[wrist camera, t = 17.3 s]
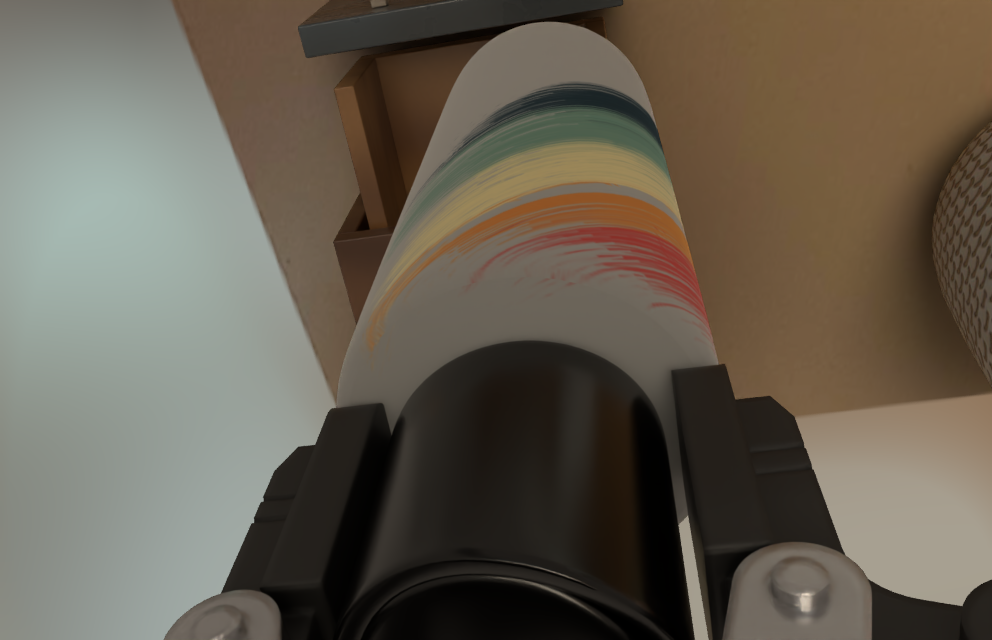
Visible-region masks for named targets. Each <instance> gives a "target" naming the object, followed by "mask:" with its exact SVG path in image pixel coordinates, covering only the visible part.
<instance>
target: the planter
mask: <svg viewBox="0 0 992 640" xmlns="http://www.w3.org/2000/svg"><path fill="white" fill-rule="evenodd" d="M932 248H933V262H934V266H935V270H936V273H937V277H938V281H939V284H940V288H941V291H942V294H943V296H944V299H945V301H946V303H947V305H948V307H949V309H950V311H951V313H952V316H953V318H954V320H955V322H956V324H957V326H958V328H959V330H960V332H961V334H962V336H963V338H964V340H965V342H966V344H967V346H968V348H969V350H970V351H971V353H972V355H973V356H974V358H975V360H976V362H977V363H978V365H979V367H980V368H981V370H982V372H983V374H984V375H985V377H986V379H987V381H988V382H989V384H990V386H991V388H992V121H991V122H990V123H989V124H988V125H987V126H986V127H985V128H983V129H982V130H981V131H980V132H979V133H978V134H977V135H976V137H975V138H974V139H973V140H972V141H971V142H970V143H969V145H968V146H967V147H966V148H965V149H964V150H963V152H962V153H961V155H960V156H959V158H958V160H957V161H956V163H955V164H954V166H953V167H952V169H951V170H950V172H949V175H948V177H947V179H946V181H945V183H944V185H943V187H942V189H941V193H940V196H939V199H938V203H937V206H936V210H935V213H934V220H933V229H932Z"/></svg>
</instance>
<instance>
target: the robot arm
mask: <svg viewBox="0 0 992 640" xmlns="http://www.w3.org/2000/svg"><path fill="white" fill-rule="evenodd" d="M671 374H672V384H673V393H674V402H675V411H676V420H677V429H678V438H679V448H680V457H681V467H682V476H683V483H684V491H685V498H686V504H687V510H688V517H689V523H690V528H691V535H692V541H693V547H694V553H695V559H696V565H697V570H698V577H699V583H700V589H701V595H702V601H703V607H704V613H705V620H706V625H707V631H708V638H709V640H992V580H990V581H987V582H985V583H983V584H981V585H979V586H978V587H977V588H975V589H974V590H973V591H972V592H971V593H970V594H969V595H968V596H967V598H966V600H965V602H964V604H963V606H957V605H951V604H944V603H938V602H933V601H926V600H921V599H916V598H911V597H907V596H904V595H901V594H897V593H894V592H892V591H889V590H887V589H885V588H883V587H881V586H879V585H877V584H875V583H874V582H872V581H870V580H869V579H868V578H867V577H866V575H865V573H864V572H863V570H862V569H861V568H860V567H859V566H858V565H857V564H856V563H855V562H853V561H852V560H851V559H850V558H848V557H847V556H846V555H845V553H844V551H843V549H842V547H841V544H840V541H839V538H838V536H837V533H836V530H835V527H834V525H833V522H832V519H831V516H830V514H829V511H828V508H827V505H826V503H825V500H824V497H823V494H822V492H821V489H820V486H819V483H818V481H817V478H816V475H815V472H814V470H812V465H811V461H810V459H809V456H808V453H807V450H806V448H804V442H803V439H802V437H801V434H800V431H799V429H798V426H797V423H796V420H795V417H794V416H793V415H792V414H791V413H789V412H788V411H787V410H786V409H785V408H784V407H782V406H781V405H780V404H779V403H778V402H777V401H775V400H774V399H773V398H772V397H771V396H764V397H755V398H746V399H737V400H735V397H734V394H733V390H732V387H731V383H730V379H729V376H728V372H727V369H726V366H725V364H720V365H711V366H702V367H694V368H685V369H676V370H671ZM391 436H392V435H391V431H390V427H389V423H388V419H387V415H386V411H385V407H384V404H382V403H375V404H367V405H358V406H349V407H341V408H332V409H331V410H330V411H329V412H328V414H327V416H326V419H325V422H324V424H323V427H322V429H321V432H320V434H319V437H318V439H317V442H316V444H315V445H311V446H302V447H298V448H297V449H296V450H295V451H294V452H293V453H292V454H291V455H290V456H289V457H288V458H287V459H286V460H285V461H284V462H283V463H282V464H281V465H280V466H279V467H278V468H277V469H276V470H275V471H274V473H273V476H272V478H271V480H270V483H269V485H268V487H267V489H266V492H265V494H264V496H263V498H264V502H261V503H260V505H259V508H258V510H257V512H256V515H255V517H254V523H252V524H251V526H250V528H249V530H248V533H247V535H246V537H245V540H244V542H243V544H242V546H241V549H240V551H239V553H238V556H237V558H236V560H235V562H234V565H233V567H232V569H231V572H230V574H229V576H228V578H227V581H226V583H225V585H224V587H223V590H222V592H221V594H219V595H216V596H213V597H211V598H209V599H206V600H204V601H203V602H201V603H199V604H197V605H196V606H194V607H193V608H191V609H190V610H189V611H187V612H186V613H185V614H184V615H182V616H181V617H180V618H179V619H178V620H177V621H176V622H175V624H174V625H173V626H172V627H171V628H170V630H169V631H168V633H167V634H166V636H165V638H164V640H333V638H334V634H335V629H336V626H337V622H338V618H339V615H340V611H341V608H342V604H343V601H344V597H345V594H346V591H347V587H348V584H349V580H350V577H351V573H352V570H353V566H354V563H355V559H356V556H357V552H358V549H359V545H360V542H361V539H362V535H363V532H364V528H365V525H366V521H367V518H368V514H369V511H370V507H371V504H372V500H373V497H374V493H375V490H376V487H377V483H378V480H379V476H380V473H381V469H382V466H383V462H384V459H385V455H386V452H387V448H388V445H389V442H390V439H391Z"/></svg>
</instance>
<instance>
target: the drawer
mask: <svg viewBox="0 0 992 640" xmlns="http://www.w3.org/2000/svg"><path fill="white" fill-rule="evenodd" d="M622 5H623V0H330V1H329V2H328V3H326V4H325V5H324V6H323V7H322V8H320V9H319V10H318V11H317V12H315V13H314V14H313V15H312V16H311V17H309V18H308V19H307V20H306V21H304V22H303V23H302V24H301V25H300V26H298V30H299V34H300V38H301V42H302V45H303V49H304V53H305V56H306V58H311V57H317V56H323V55H329V54H335V53H341V52H347V51H353V50H359V49H365V48H371V47H377V46H383V45H389V44H395V43H401V42H407V41H413V40H419V39H425V38H431V37H437V36H443V35H449V34H455V33H461V32H467V31H473V30H479V29H485V28H491V27H497V26H503V25H509V24H515V23H521V22H527V21H533V20H539V19H545V18H551V17H557V16H563V15H569V14H575V13H581V12H587V11H593V10H599V9H605V8H611V7H617V6H622ZM566 23H567V24H572V25H576V26H580V27H583V28H586V29H588V30H590V31H593V32H595V33H597V34H598V35H600V36H602V37H604V38H605V39H607V34H606V27H605V21H604V17H596V18H590V19H584V20H578V21H572V22H566ZM500 34H502V33H500ZM500 34H494V35H488V36H482V37H476V38H470V39H464V40H458V41H452V42H445V43H439V44H433V45H427V46H421V47H415V48H409V49H403V50H397V51H391V52H385V53H379V54H373V55H367V56H362V57H361V58H360V59H359V60H358V61H357V62H356V63H355V64H354V66H353V67H352V68H351V69H350V70H349V72H348V73H347V74H346V75H345V76H344V78H343V79H342V80H341V81H340V82H339V84H338V85H337V86H336V87H335V88H334V92H335V95H336V99H337V103H338V107H339V111H340V115H341V119H342V123H343V127H344V130H345V134H346V138H347V142H348V146H349V150H350V154H351V158H352V161H353V165H354V169H355V173H356V177H357V181H358V185H359V189H360V192H361V196H362V200H363V204H364V208H365V212H366V216H367V220H368V224H369V227H370V230H372V229H379V228H386V227H393V226H396V225H397V223H398V220H399V218H400V215H401V213H402V210H403V208H404V205H405V203H406V200H407V198H408V195H409V193H410V190H411V188H412V186H413V183H414V181H415V178H416V176H417V173H418V171H419V168H420V166H421V163H422V161H423V158H424V156H425V153H426V151H427V148H428V146H429V143H430V141H431V138H432V136H433V134H434V131H435V129H436V126H437V124H438V121H439V119H440V116H441V114H442V111H443V109H444V106H445V104H446V102H447V99H448V97H449V95H450V92H451V90H452V88H453V86H454V84H455V82H456V80H457V78H458V76H459V75H460V73H461V72H462V70H463V68H464V67H465V66H466V64H467V63H468V62H469V60H470V59H471V58H472V57H473V56H474V55H475V54H476V53H477V52H478V50H479V49H481V48H482V47H483V46H484V45H485V44H486V43H488V42H489V41H491V40H492V39H494V38H495V37H497V36H498V35H500Z"/></svg>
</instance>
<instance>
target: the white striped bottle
mask: <svg viewBox="0 0 992 640" xmlns="http://www.w3.org/2000/svg"><path fill="white" fill-rule="evenodd" d="M711 365H719V363H718V359H717V355H716V351H715V346H714V342H713V338H712V334H711V330H710V326H709V322H708V318H707V315H706V311H705V307H704V303H703V299H702V295H701V292H700V288H699V284H698V280H697V277H696V273H695V269H694V265H693V262H692V258H691V254H690V250H689V247H688V243H687V239H686V235H685V232H684V228H683V224H682V220H681V216H680V213H679V209H678V205H677V201H676V198H675V194H674V190H673V186H672V183H671V179H670V175H669V171H668V168H667V164H666V160H665V156H664V153H663V149H662V145H661V141H660V138H659V134H658V130H657V126H656V123H655V119H654V115H653V112H652V108H651V105H650V102H649V99H648V96H647V93H646V90H645V88H644V85H643V83H642V81H641V79H640V77H639V75H638V73H637V72H636V70H635V68H634V67H633V65H632V64H631V63H630V61H629V60H628V59H627V57H626V56H625V55H624V54H623V53H622V52H621V51H620V50H619V49H618V48H617V47H616V46H615V45H613V44H612V43H611V42H609V41H608V40H607V39H605V38H604V37H602V36H600V35H598V34H597V33H595V32H593V31H590V30H588V29H586V28H583V27H580V26H576V25H572V24H567V23H560V22H539V23H531V24H527V25H522V26H519V27H516V28H513V29H511V30H508V31H506V32H504V33H502V34H500V35H498V36H497V37H495V38H494V39H492V40H491V41H489V42H488V43H486V44H485V45H484V46H483V47H482V48H481V49H479V50H478V52H477V53H476V54H475V55H474V56H473V57H472V58H471V59H470V60H469V62H468V63H467V64H466V66H465V67H464V68H463V70H462V72H461V73H460V75H459V76H458V78H457V80H456V82H455V84H454V86H453V88H452V90H451V92H450V95H449V97H448V99H447V102H446V104H445V106H444V109H443V111H442V114H441V116H440V119H439V121H438V124H437V126H436V129H435V131H434V134H433V136H432V138H431V141H430V143H429V146H428V148H427V151H426V153H425V156H424V158H423V161H422V163H421V166H420V168H419V171H418V173H417V176H416V178H415V181H414V183H413V186H412V188H411V190H410V193H409V195H408V198H407V200H406V203H405V205H404V208H403V210H402V213H401V215H400V218H399V220H398V223H397V225H396V228H395V230H394V233H393V235H392V237H391V240H390V242H389V245H388V247H387V250H386V252H385V255H384V257H383V260H382V262H381V265H380V267H379V270H378V272H377V275H376V277H375V280H374V282H373V285H372V287H371V290H370V292H369V295H368V297H367V300H366V302H365V305H364V307H363V310H362V313H361V315H360V318H359V320H358V323H357V326H356V328H355V331H354V334H353V337H352V339H351V342H350V345H349V347H348V350H347V353H346V356H345V359H344V362H343V366H342V370H341V374H340V378H339V385H338V393H337V408H341V407H349V406H358V405H367V404H375V403H382V404H384V407H385V411H386V415H387V419H388V423H389V427H390V431H391V435H392V436H391V439H390V442H389V445H388V448H387V452H386V455H385V459H384V462H383V466H382V469H381V473H380V476H379V480H378V483H377V487H376V490H375V493H374V497H373V500H372V504H371V507H370V511H369V514H368V518H367V521H366V525H365V528H364V532H363V535H362V539H361V542H360V545H359V549H358V552H357V556H356V559H355V563H354V566H353V570H352V573H351V577H350V580H349V584H348V587H347V591H346V594H345V597H344V601H343V604H342V608H341V611H340V615H339V618H338V622H337V626H336V629H335V634H334V638H333V640H695V638H694V631H693V624H692V617H691V610H690V603H689V596H688V589H687V583H686V575H685V568H684V561H683V554H682V547H681V540H680V533H679V526H678V525H679V523H681V522H682V521H683V520H684V519H685V518H686V517H687V516H688V510H687V504H686V498H685V491H684V483H683V476H682V467H681V457H680V448H679V438H678V429H677V420H676V411H675V402H674V393H673V384H672V374H671V370H676V369H685V368H694V367H702V366H711Z"/></svg>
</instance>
